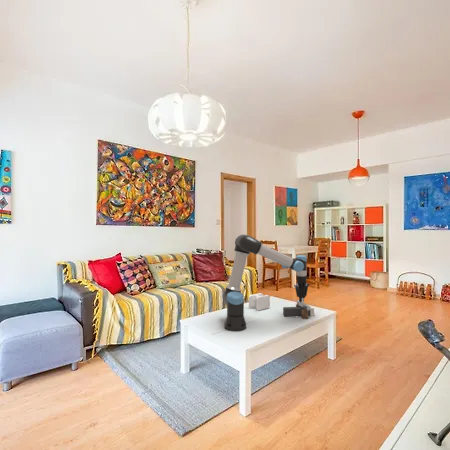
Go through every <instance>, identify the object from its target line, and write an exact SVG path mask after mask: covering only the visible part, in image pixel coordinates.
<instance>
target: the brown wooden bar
mask: <svg viewBox="0 0 450 450" xmlns="http://www.w3.org/2000/svg"><path fill="white" fill-rule="evenodd" d="M295 307H301V306H299V305H297V303H296V304H295ZM300 317H301V319H303V320H308V319H309V316H308V310H306V309H301V316H300Z"/></svg>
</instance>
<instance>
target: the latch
mask: <svg viewBox="0 0 450 450" xmlns="http://www.w3.org/2000/svg"><path fill="white" fill-rule="evenodd" d="M296 304H297V305H299V306H300V302H299V299H297V300H296ZM301 307H303V308H304V309H306V310H310V307H311V306H310V305H309V304H307V303H305V302H304V304H303V306H301Z"/></svg>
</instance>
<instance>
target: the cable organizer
mask: <svg viewBox="0 0 450 450" xmlns="http://www.w3.org/2000/svg"><path fill="white" fill-rule="evenodd" d="M270 306H271V296H270V295H268V294H265V295H264V294H263V293H262V292H259V293H254V294H250V295H249V296H248V308H250V309H255V310H257V311H264V310H268V309H270Z"/></svg>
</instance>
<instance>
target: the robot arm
mask: <svg viewBox="0 0 450 450" xmlns="http://www.w3.org/2000/svg"><path fill="white" fill-rule="evenodd" d="M234 245H235V247H234V250H233V251H234V253H235V256H234V259H233V260H234V261H233V264H232V268H231V273H230V277H229V282H228V285H226V286H225V289H224V291H223V293H222V300H223V303H224V304H225V306H226V319H225V321H224V329H225V330H228V331H232V332H241V331H244V330H245V329H247V321H246V319H245V314H244V313H245V310H244V309H245V307H244V306H245V305H244V304H245V303H244V301H245V297H244V294H243V292H242V289H241V284H242V280H243V275H244V272H245V266H246V263H247V257H248V256H249V255H250V254H254V255H259V256H262V257H263V258H266V259H268V260H270V261H273V262H274V263H277V264H279V265H281V267H282V269H289V270H292V271H295V272H296V284H294V285H293V286H294V288H295V292H296V293H295V295H296V297H297V298H298V300H299V302H300V306H303V304H304V303H305V299H306V297H307V295H308V289H309V286H310V284H309V283H308V282H307V279H308V278H307V272H308V271H307V267H308V265H307V263H308V260H307V256H306V255H301V254H300V255H296V257H295V258H292V257H291V256H288V255H286V254H284V253H282V252H280V251H278V250H275V248H274V249H273V248H272V247H270V246H268V245H265V244H263V242H262V241H260V240H258V239H256V238H255V237H253V236H251V235H249V234H240V235H238V236H237V237H236V238H235V240H234Z"/></svg>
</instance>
